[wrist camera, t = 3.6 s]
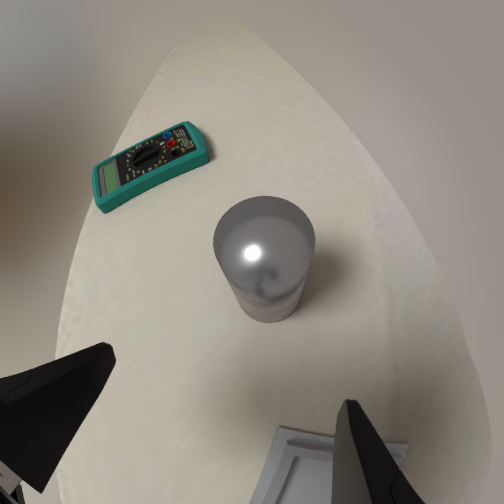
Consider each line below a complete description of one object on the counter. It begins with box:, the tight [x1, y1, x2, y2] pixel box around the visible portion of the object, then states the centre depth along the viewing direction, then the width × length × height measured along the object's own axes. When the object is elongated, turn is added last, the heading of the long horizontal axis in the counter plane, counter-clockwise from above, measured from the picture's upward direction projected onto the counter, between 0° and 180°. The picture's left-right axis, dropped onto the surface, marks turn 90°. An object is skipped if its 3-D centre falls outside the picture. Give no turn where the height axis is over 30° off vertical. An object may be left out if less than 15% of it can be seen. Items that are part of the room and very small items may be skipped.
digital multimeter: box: [92, 121, 209, 213], centre depth 31 cm, size 7×15×3 cm, turn 116°
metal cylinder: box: [213, 196, 315, 323], centre depth 19 cm, size 6×6×10 cm
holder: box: [249, 427, 410, 504], centre depth 15 cm, size 12×12×2 cm
